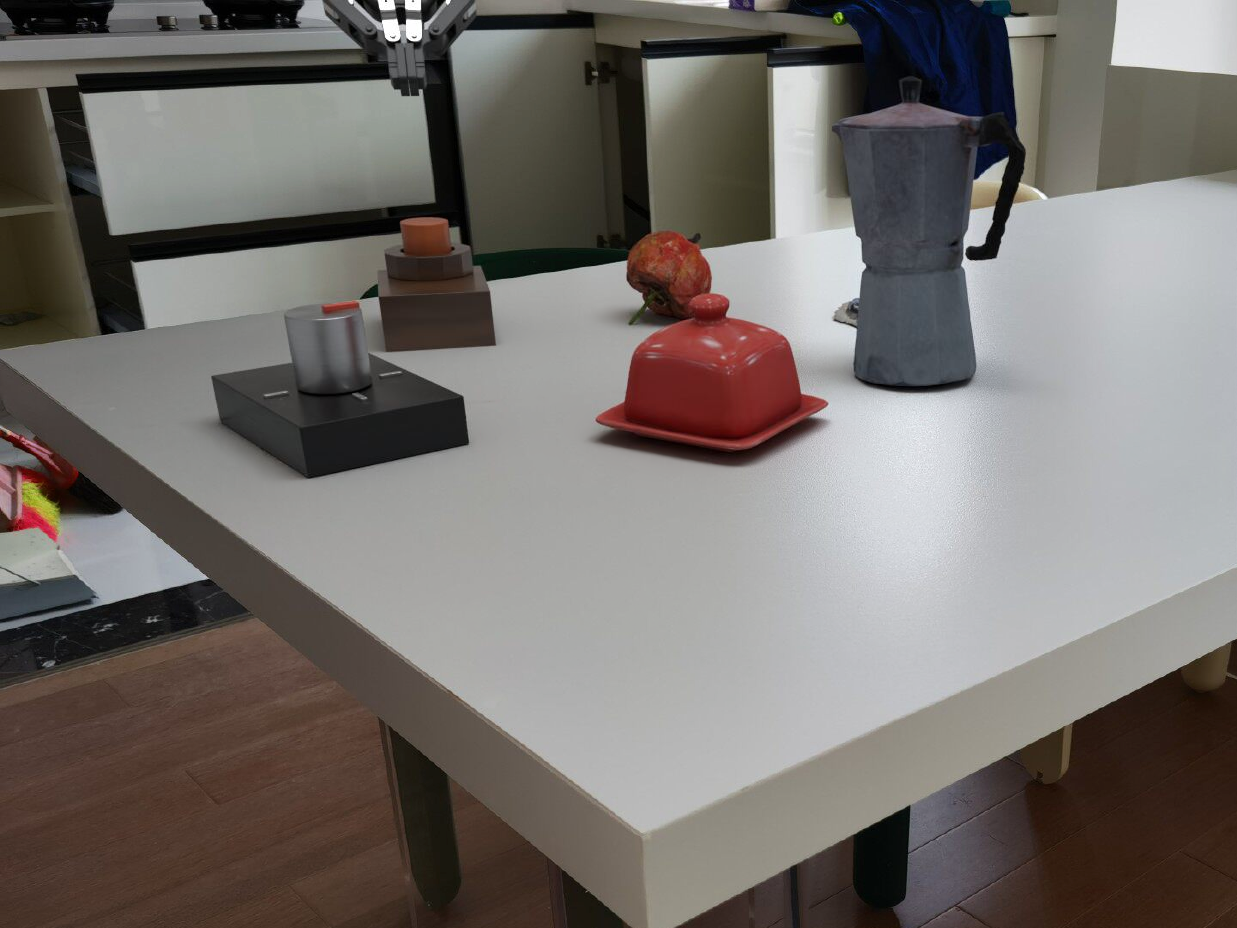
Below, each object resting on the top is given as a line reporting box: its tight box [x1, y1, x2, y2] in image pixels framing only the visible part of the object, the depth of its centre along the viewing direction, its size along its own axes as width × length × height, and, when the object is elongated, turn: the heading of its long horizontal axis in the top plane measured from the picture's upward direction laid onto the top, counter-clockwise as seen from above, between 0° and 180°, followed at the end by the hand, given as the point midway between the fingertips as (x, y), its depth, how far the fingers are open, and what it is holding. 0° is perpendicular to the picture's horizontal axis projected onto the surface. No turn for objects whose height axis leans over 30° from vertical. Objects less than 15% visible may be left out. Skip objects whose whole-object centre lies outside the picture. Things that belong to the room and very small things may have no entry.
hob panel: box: [210, 352, 470, 479], centre depth 86 cm, size 14×10×3 cm
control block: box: [377, 242, 497, 353], centre depth 109 cm, size 11×8×6 cm
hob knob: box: [283, 300, 372, 394], centre depth 85 cm, size 4×4×5 cm
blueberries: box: [832, 297, 860, 327], centre depth 117 cm, size 7×8×2 cm
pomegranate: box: [625, 230, 713, 326], centre depth 114 cm, size 7×7×10 cm
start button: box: [399, 216, 452, 255], centre depth 109 cm, size 4×4×2 cm
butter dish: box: [595, 292, 829, 453], centre depth 87 cm, size 12×12×8 cm
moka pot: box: [831, 75, 1027, 387], centre depth 97 cm, size 10×15×20 cm, turn 59°
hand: (409, 89), depth 115 cm, fingers closed
